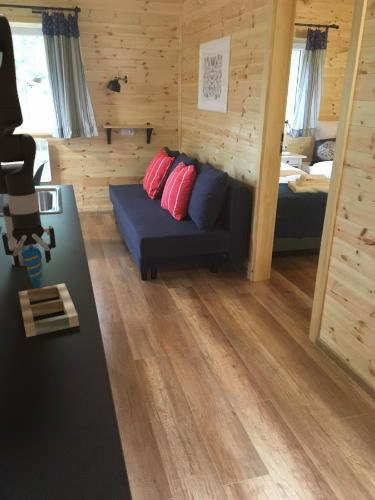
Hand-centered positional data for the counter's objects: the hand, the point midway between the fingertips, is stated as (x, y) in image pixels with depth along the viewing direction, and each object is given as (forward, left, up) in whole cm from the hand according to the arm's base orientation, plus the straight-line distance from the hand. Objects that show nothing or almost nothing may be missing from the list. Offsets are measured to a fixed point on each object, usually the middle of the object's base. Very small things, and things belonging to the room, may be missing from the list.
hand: (33, 264), depth 122 cm
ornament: (0, 0, -9) cm, 9 cm away
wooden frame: (+15, +1, -8) cm, 17 cm away
